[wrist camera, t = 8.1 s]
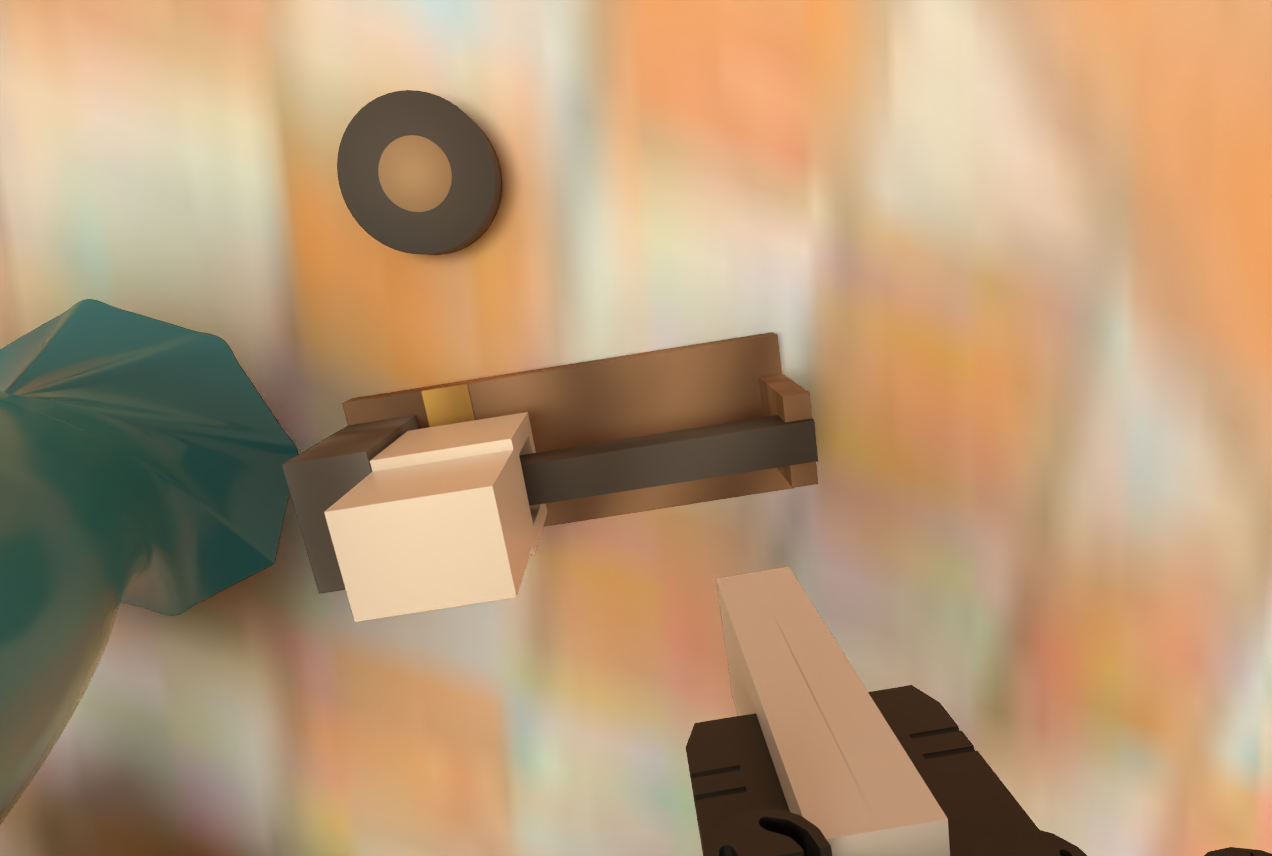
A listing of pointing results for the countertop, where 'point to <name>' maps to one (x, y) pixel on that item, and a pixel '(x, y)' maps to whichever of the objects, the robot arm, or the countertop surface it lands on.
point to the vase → (118, 501)
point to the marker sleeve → (439, 520)
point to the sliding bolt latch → (593, 435)
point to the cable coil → (419, 173)
